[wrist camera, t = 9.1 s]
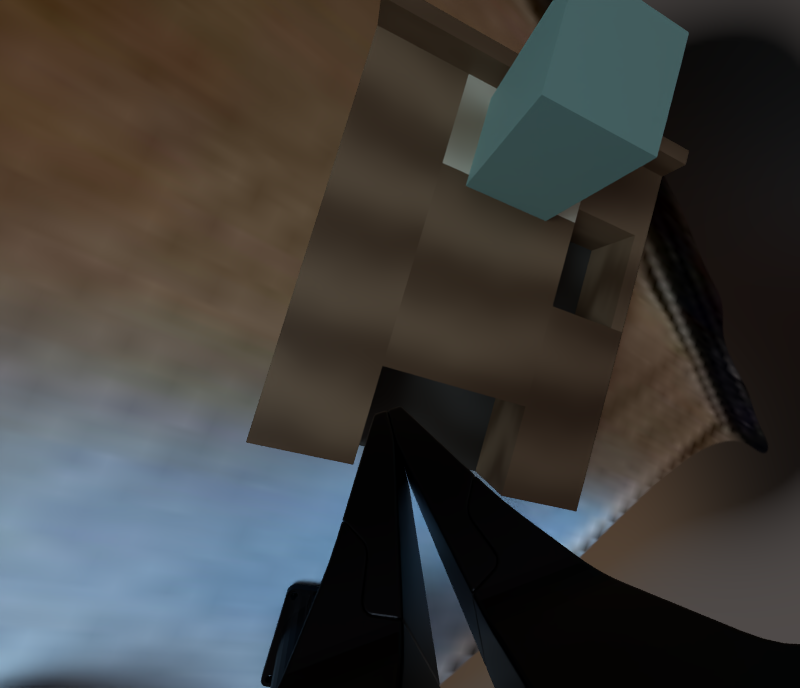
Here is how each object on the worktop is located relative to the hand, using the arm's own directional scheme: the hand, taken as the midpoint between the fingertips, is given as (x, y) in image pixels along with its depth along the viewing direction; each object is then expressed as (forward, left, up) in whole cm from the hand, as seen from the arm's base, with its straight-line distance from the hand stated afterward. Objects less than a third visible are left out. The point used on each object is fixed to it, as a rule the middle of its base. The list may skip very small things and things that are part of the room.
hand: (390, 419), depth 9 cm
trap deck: (+8, -6, -13) cm, 16 cm away
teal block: (+16, -6, -9) cm, 19 cm away
